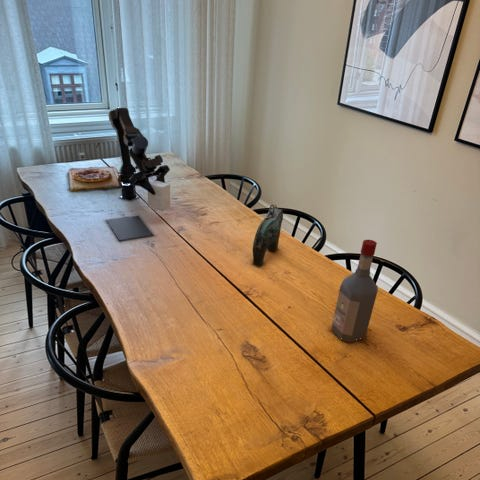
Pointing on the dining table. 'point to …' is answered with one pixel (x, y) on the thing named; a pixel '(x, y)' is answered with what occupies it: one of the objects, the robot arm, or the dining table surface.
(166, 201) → the small box
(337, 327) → the liquor
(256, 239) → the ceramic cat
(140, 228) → the placemat
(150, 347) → the dining table surface
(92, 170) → the pizza
